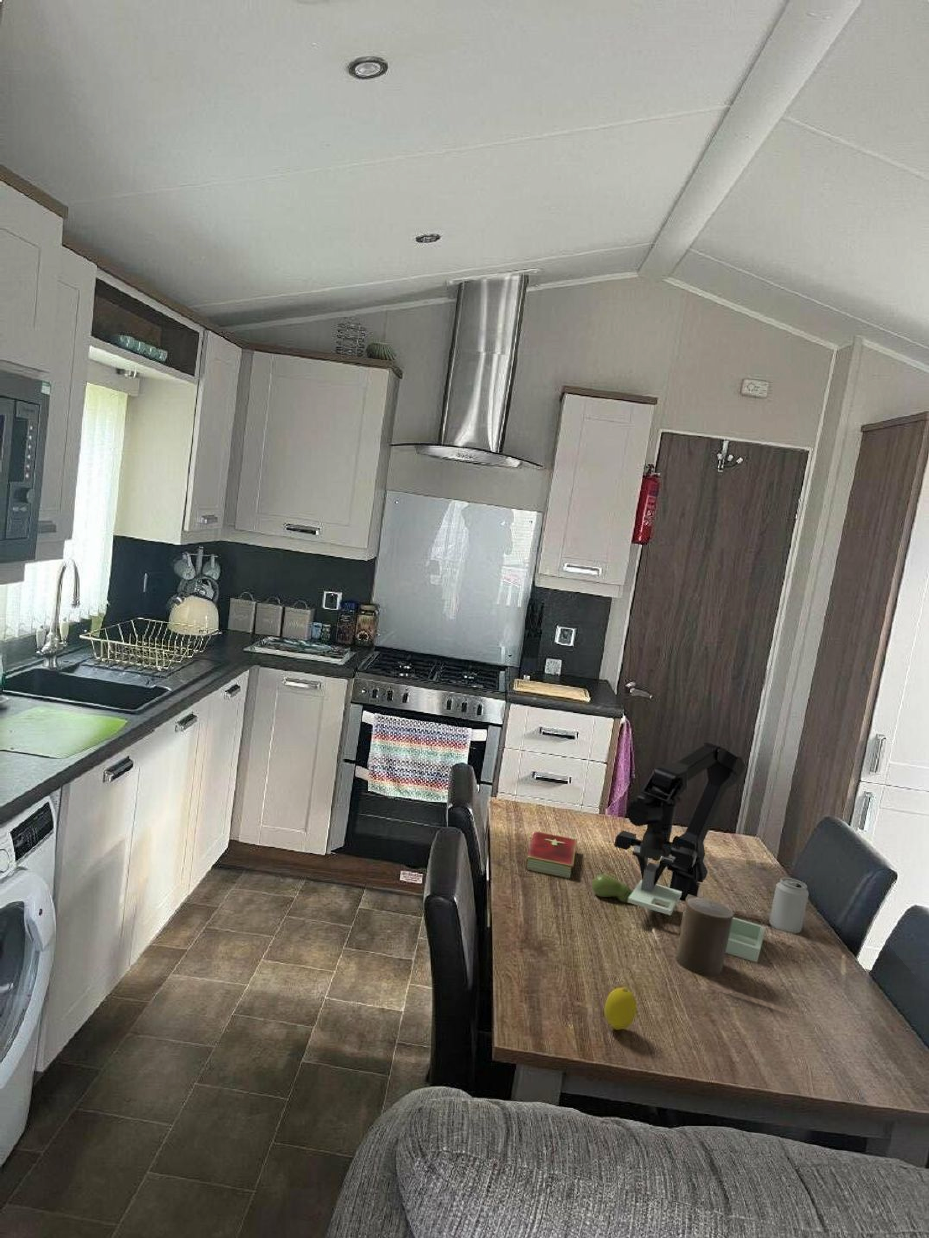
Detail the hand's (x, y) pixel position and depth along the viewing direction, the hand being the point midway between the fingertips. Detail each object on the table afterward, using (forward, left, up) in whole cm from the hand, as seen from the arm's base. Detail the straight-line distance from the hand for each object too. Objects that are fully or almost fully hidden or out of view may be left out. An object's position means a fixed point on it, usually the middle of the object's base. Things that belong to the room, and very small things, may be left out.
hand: (649, 882), depth 223 cm
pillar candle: (+16, -23, -7) cm, 29 cm away
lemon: (+7, -59, -7) cm, 59 cm away
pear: (-9, +1, -7) cm, 11 cm away
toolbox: (+22, -6, -7) cm, 24 cm away
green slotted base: (+2, -4, -2) cm, 5 cm away
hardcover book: (-28, +14, -7) cm, 32 cm away
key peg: (+11, -8, -7) cm, 15 cm away
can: (+31, +14, -7) cm, 35 cm away
